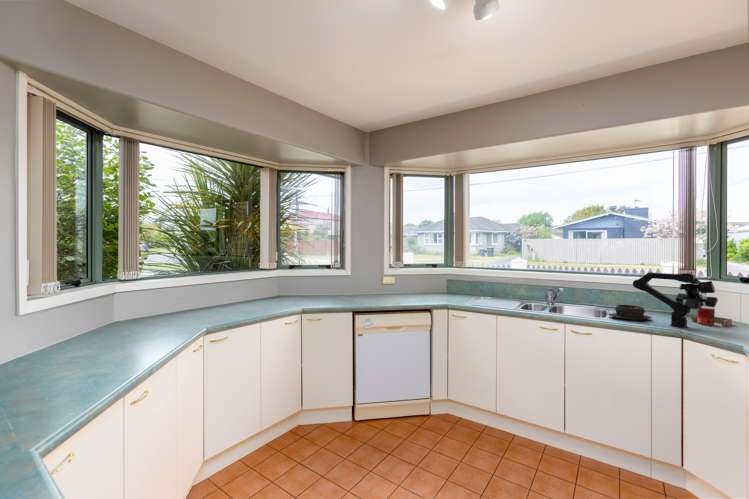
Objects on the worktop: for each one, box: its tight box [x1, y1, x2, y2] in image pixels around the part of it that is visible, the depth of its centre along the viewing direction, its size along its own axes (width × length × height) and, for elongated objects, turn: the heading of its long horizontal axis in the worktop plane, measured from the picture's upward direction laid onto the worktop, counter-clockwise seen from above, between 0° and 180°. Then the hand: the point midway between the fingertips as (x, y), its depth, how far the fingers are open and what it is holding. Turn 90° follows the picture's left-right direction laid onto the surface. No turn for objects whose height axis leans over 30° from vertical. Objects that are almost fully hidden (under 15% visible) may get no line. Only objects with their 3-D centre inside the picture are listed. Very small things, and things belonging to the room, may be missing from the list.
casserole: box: [608, 304, 653, 321], centre depth 236 cm, size 25×19×8 cm
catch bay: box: [691, 314, 733, 328], centre depth 223 cm, size 12×16×4 cm
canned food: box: [696, 305, 716, 327], centre depth 220 cm, size 8×8×11 cm
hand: (700, 308), depth 216 cm, fingers closed
